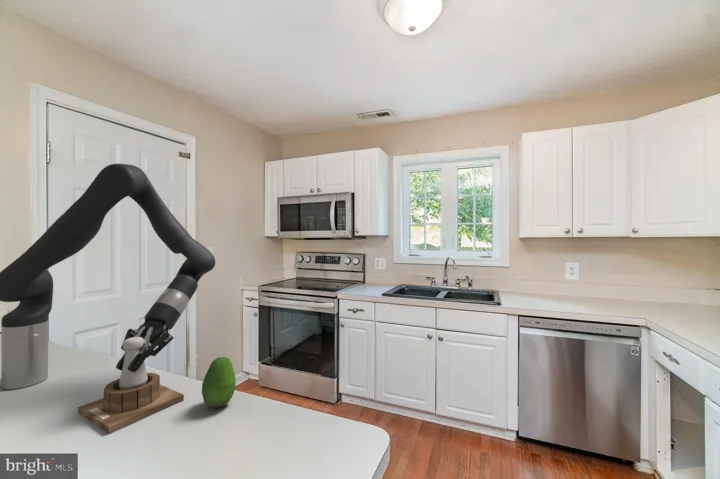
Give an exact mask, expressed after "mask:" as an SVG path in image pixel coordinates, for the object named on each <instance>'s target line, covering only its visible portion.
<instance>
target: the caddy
mask: <svg viewBox="0 0 720 479" xmlns="http://www.w3.org/2000/svg"><path fill="white" fill-rule="evenodd" d="M160 376H161V375H160V374H158V373H155V372H147V377H148V380H147V382H146V385H143V386H140V387H138V388H134V389H129V390H121V389H120V387H119V381H120V378H116V379H115V380H112V381H110V382H109V383H108V384H106V385H105V386H104V388H103V396H102V397H101V398H99V399H96V400H94V401H90V402H88V403H86V404H83V405H79V406H77V413H78V414H79V415H80V416H81V417H83V418H84V419H86V420H87V421H89V422H90V423H92V424H94V425H95V426H96V427H98V428H99V429H100V430H102V431H103V432H105V433H106V434H108V435H110V434H113V433H115V432H116V431H119V430H121V429H123V428H126V427H128V426H130V425H133V424H135V423H137V422H139V421H141V420H143V419H145V418H148V417H150V416H152V415H155V414H157V413H159V412H162V411H163V410H165V409H168V408H169V407H172V406H174V405H177V404H179V403H182V402H183V401H185V398H184V397H185V394H183V393H181V392H178V391H176V390H174V389H171V388H169V387H168V386H165V385H162V384H161V383H160V381H161V380H160Z"/></svg>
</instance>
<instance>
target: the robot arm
mask: <svg viewBox="0 0 720 479" xmlns="http://www.w3.org/2000/svg"><path fill="white" fill-rule="evenodd" d="M127 197H129V198H130V199H132V200H133V201H134V202H135V203H136V204H137V205H138V206H139V207H140V208H141V209H142V210H143V212H144V213H145V215H146V217H147V219H148V220H149V222H150V224H151V227H152V229H153V231H154V232H155V234H156V235H157V237H158V238H159V239H160V240H161V241H162V242H163V243H164V245H165V246H166V247H167V248H168V249H169V250H170V251H171V252H172V253H173V254H175V255H176V254H177V255H178V254H181V255H182V256H183V257H184V258H186V259H185V261H184V262H182V265H181V266H180V267H179V269H178V271H177V273H176V275H175V277H174V278H173V280H171V282H170V283H169V284H168V286H167V287H166V288H165V290H164V291H163V292H162V293H161V294H160V295H159V296H158V298H157V299H156V300H155V302H154V303H153V304H152V306H151V307H150V308H149V310H148V311H147V312H146V314H145V315H144V316H143V317H144V322H143V323H142V324H141V325H140V326H139V327H138V328H135V329H132V328H129V329H128V330H127V331H126V334H125V336H124V339H123V342H124V341H125V340H126V339H129V338H132V337H142V338H143V339H144V343H143V346H142V347H141V349H140V351H139V354H137V355H136V356H135V358H134V359H133V361H132V362H131V363H130V365H129V366H128V368H127V369H128V370H129V371H131V372H136V371H137V370H138V369H139V368H140V366H141V365H142V363H143V362H144V363H145V361H146V359H147V358H150V357H151V356H152V357H155V356H157V355H158V354H159V353H160V352H161V351H162V350H163V349H165V347H166V346H168V344H170V343H171V341H172V340H174V336H173V335H172V334H171V333H169V331H170V330H172V329H173V328H174V326H175V325H176V323H177V322H178V320H179V318H180V317H181V315H182V314H183V313H184V311H185V309H186V308H187V306H188V304H189V302H190V300H191V299H192V298H193V296H194V294H195V292H196V291H197V289H198V288H199V281H200V279H201V278H202V277H203V276H204V275H206V274H207V273H209V272H210V271H212V270H213V269H214V268H215V265H216V258H215V256H214V254H213V253H212V252H211V250H209V249H208V248H207V247H205V246H204V245H203V244H202V243H200V241H197V239H196V238H193V237H192V235H191V234H190V233H189V232H188V231H187V230H186V228H185V227H184V226H183V225H182V224H181V222H179V221H178V218H176V217H175V215H173V213H172V212H171V211H170V209H169V208H168V206H167V205H166V204H165V203H164V201H163V199H162V198H161V196H160V195H159V193H158V192H157V190H156V189H155V187H154V186H153V184H152V182H151V180H150V179H149V177H148V176H147V174H146V173H145V171H143V170H142V168H140V167H138V166H136V165H134V164H127V163H112V164H108V165H107V166H104V167H103V168H102V169H101V170H100V171H99V173H97V175H96V177H95V178H94V179H93V181H92V182H91V183H90V185H89V186H88V187H87V188H86V190H85V191H84V192H83V194H81V196H80V197H78V199H77V200H76V201H75V202H73V204H71V205H70V206H69V207H68V209H66V210H65V211H64V212H63V213H62V214H61V215H60V216H59V217H58V218H57V219H56V220H55V221H54V222H53V223H52V224H51V225H50V226H49V227H48V228H47V229H46V230H45V232H44V233H43V234H42V235H41V236H40V237H39V238H38V239H37V240H36V241H35V242H33V244H31V246H29V248H28V249H26V250H25V252H23V253H22V254H21V255H20V256H18V257H17V258H16V259H15V260H13V261H12V262H11V263H10V264H8V265H7V266H6V267H5V268H4V269H2V270H1V271H0V302H1V303H2V302H3V303H15V302H19V303H18V304H17V306H16V307H15V308H14V309H13V310H11V311H9V312H8V313H6V314H4V315H3V316H2V317H1V323H0V324H1V327H0V328H1V331H0V333H1V336H0V337H1V358H0V359H1V362H0V365H1V367H0V369H1V372H0V373H1V374H0V375H1V376H0V379H1V383H0V386H1V387H0V388H1V390H16V389H22V388H26V387H30V386H33V385H37V384H39V383H42V382H43V381H46V380H47V379H48V378H49V315H50V314H51V311H52V307H53V296H54V280H53V276H52V274H51V272H50V271H49V270H48V269H50V268H51V267H54V266H55V265H56V264H58V263H62V261H65V260H66V259H68V258H70V257H73V256H74V255H75V254H77V253H79V252H80V251H81V250H83V249H84V248H86V246H87V245H88V244H89V243H90V242H91V241H92V240H93V239H94V238H95V237H96V236H97V234H98V233H99V231H100V229H101V228H102V224H103V223H104V220H105V217H106V215H107V214H108V213H109V212H110V210H112V209H113V208H114V207H115V206H116V205H117V204H118V203H119V202H121V201H123V199H125V198H127ZM123 342H122V344H121V347H120V349H121V350H122V351H123V352H124V354H123V355H122V356H121V358H120V359H119V360H118V362H117V363H116V365H115V366H116V367H115V368H116V369H117V370H119V371H121V372H122V368H123V363H124V358H125V353H126V350H124V349H123Z"/></svg>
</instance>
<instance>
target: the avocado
mask: <svg viewBox="0 0 720 479" xmlns="http://www.w3.org/2000/svg"><path fill="white" fill-rule="evenodd" d="M236 386H237V385H236V374H235V370H234V366H233V362H232V361H231V360H230V358H228V357H225V356H222V357H220V356H219V357H217V358H215V359H213V361H211V363H210V365H209V368H207V371H206V373H205V375H204V378H203V381H202V384H201V394H202V395H201V396H202V399H203V403H204V404H206V406H208V407H210V408H214V409H218V408H221V407H223V406H225V405H227V404H228V403H230V401H231V400H232V399H233V396H234V394H235V390H236Z"/></svg>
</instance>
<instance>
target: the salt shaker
mask: <svg viewBox="0 0 720 479" xmlns="http://www.w3.org/2000/svg"><path fill="white" fill-rule="evenodd" d="M123 341H124V340H123ZM143 343H144V339H143V338H142V337H132V338H129V339H126V340H125V341H124V342H122V344H123V349H124V350H126V353H125V352H124V353H125V358H124V363H123V368H122V371H121V372H120V381H119V387H120V389H121V390H129V389H134V388H138V387H140V386H143V385H146V382H147V380H148V377H147V373H148V372H147V367H146V363H145V361H144V362H143V363H142V365H141V366H140V368H139V369H138V370H137V371H136V372H131V371H129V370H128V369H127V368H128V366H129V365H130V363H131V362H132V361H133V359H134V358H135V356H136V355H137V354H139V351H140V349H141V347H142V346H143ZM124 350H123V351H124Z"/></svg>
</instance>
